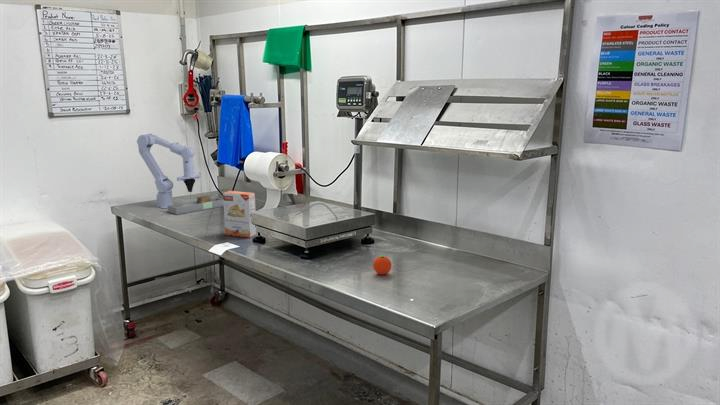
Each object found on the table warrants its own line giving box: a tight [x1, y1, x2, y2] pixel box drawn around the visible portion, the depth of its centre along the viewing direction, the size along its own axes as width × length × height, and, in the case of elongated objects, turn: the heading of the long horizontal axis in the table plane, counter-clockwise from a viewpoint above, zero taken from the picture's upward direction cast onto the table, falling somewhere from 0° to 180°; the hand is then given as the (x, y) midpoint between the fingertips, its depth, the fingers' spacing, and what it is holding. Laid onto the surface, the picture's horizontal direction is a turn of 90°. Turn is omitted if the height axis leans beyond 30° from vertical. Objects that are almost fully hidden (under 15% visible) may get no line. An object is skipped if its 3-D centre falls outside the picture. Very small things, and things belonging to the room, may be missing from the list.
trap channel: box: [166, 197, 224, 216], centre depth 304 cm, size 12×32×4 cm, turn 139°
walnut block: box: [196, 195, 212, 204], centre depth 307 cm, size 5×6×4 cm
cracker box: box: [222, 190, 257, 239], centre depth 247 cm, size 14×6×21 cm, turn 70°
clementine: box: [372, 255, 392, 276], centre depth 196 cm, size 8×7×7 cm
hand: (190, 191), depth 307 cm, fingers closed
